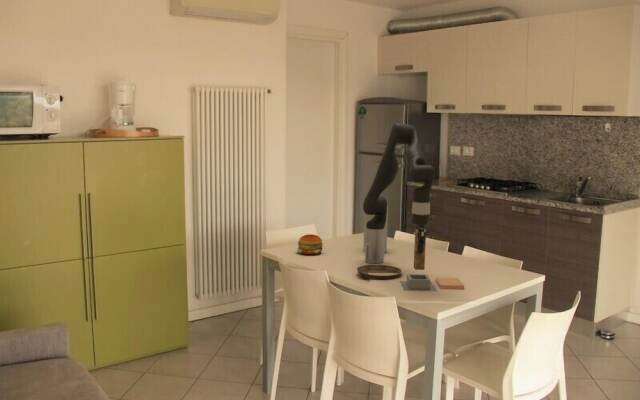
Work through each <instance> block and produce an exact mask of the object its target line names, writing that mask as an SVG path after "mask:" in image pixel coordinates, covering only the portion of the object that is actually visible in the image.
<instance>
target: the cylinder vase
mask: <svg viewBox="0 0 640 400" xmlns="http://www.w3.org/2000/svg"><path fill="white" fill-rule="evenodd" d="M363 212H364V211H363ZM388 213H389V206H388V205H387V216H386V223H385V234H384V254H385V253H386V252H387V248H388V247H387V246H388V244H387V243H388V221H389V220H388V217H389V215H388ZM363 215H364V216H363V251H364V253H365V242H366V223H367V222H368V221H370V220H371V219H372V218H373V217H374V216H375V215H367V214H366V213H365V212H364V214H363Z"/></svg>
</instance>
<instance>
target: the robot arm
mask: <svg viewBox="0 0 640 400" xmlns="http://www.w3.org/2000/svg"><path fill="white" fill-rule="evenodd" d="M386 143H387V144H386V146H385V149H384V152H383V155H382V157H381V160H380V163H379V165H378V167H377V170H376V173H375V176H374V179H373V181H372V183H371V186H370V188H369V190H368V192H367V194H366V195H365V198H364V200H363V205H362V209H363V212H365V213H366V214H367V215H375V216H374V217H373V218H372V219H371V220H370V221H368V222H367V223H366V242H365V252H364V261H365V263H369V264H383V263H384V260H385V253H384V234H385V223H386V216H387V206H388V202H387V199H386V197H385V196H383V195H381V194H382V193H383V192H384V191H386V189H387V188H389V187H390V186H391V184H392V183H393V182H394V181H395V179H396V177H397V174H398V171H399V169H400V168H399V162H398V158H397V155H396V145H398V144H401V145H404V146H405V145H407V146H409V147H408V148H407V149H406V154H405V158H406V161H407V164H408V166H409V178H410V180H411V181H412V182H413V183H423V185H422V186H421V185H420V186H418V187H414V189H412V190H413V191H412V204H411V223H412V224H413V225H415V226H414V232H415V231H416V232H417V239H418V253H419V254H422V253H423V245H424V244H425V235H426V236H427V231H426V230H427V229H426V228H425V225H429V224H430V221H431V219H430V217H431V203H430V202H431V190H432V188H433V187H432V186H433V183H434V181H435V177H436V169H435V167H433V165H431V164H427V163H426V159H425V156H424V154H423V152H422V150H421V146H420V140H419V137H418V132H417V129H416V127H415V126H414V125H413V124H412V125H411V124H406V123H402V122H400V123H399V122H396V123H394V124H393V125H392V126H391V130H390V132H389V136H388V139H387V142H386ZM418 236H419V237H418ZM420 240H422V241H420ZM425 245H426V244H425Z"/></svg>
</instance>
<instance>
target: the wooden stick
mask: <svg viewBox="0 0 640 400" xmlns="http://www.w3.org/2000/svg"><path fill="white" fill-rule="evenodd" d="M418 237H419V236H418ZM426 238H427V234H426V235H425V244H424V245H423V253H422V254H419V253H418V239H417V232H416V231H415V230H414V244H413V245H414V249H413V250H414V251H413V254H414V255H413V268H414V270H415V271H417V270H419V271H420V270H421V271H424V270H425V268H426V267H425V264H426V240H427V239H426ZM420 241H422V240H420Z"/></svg>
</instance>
